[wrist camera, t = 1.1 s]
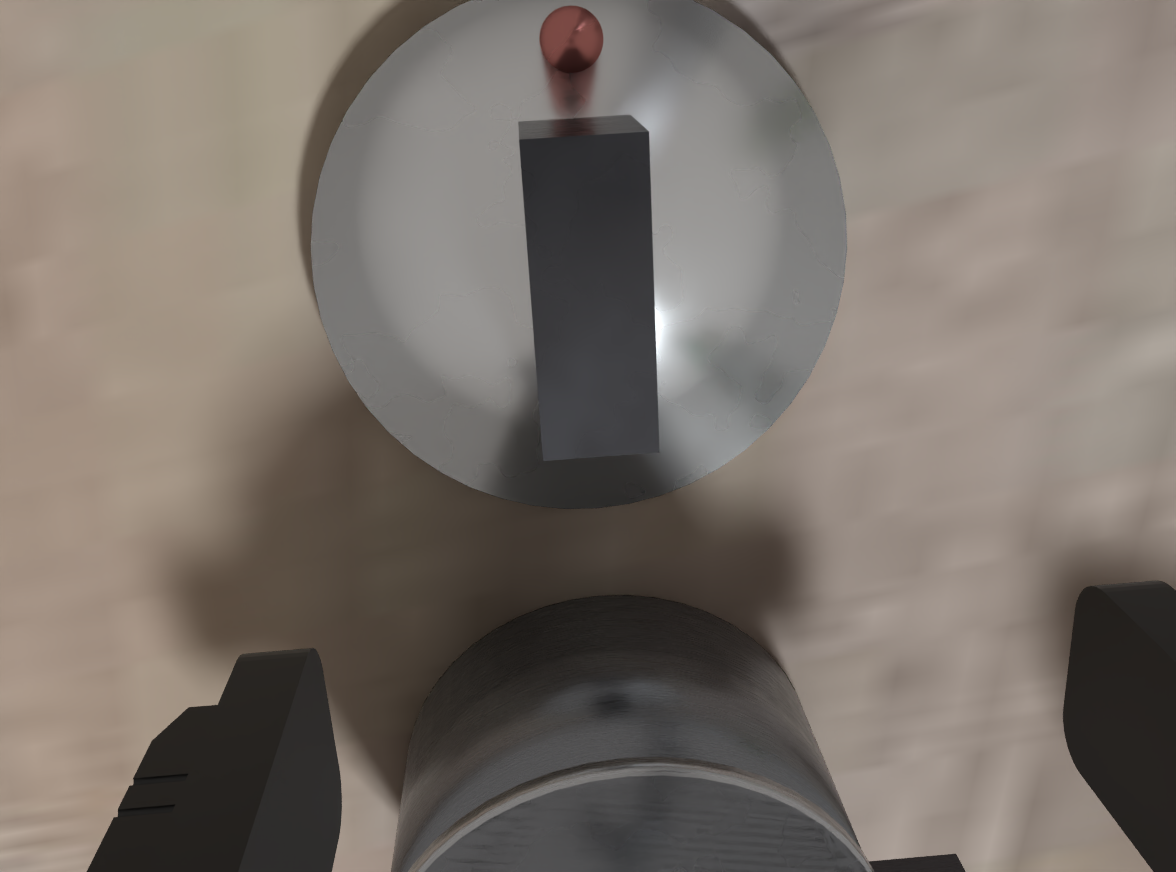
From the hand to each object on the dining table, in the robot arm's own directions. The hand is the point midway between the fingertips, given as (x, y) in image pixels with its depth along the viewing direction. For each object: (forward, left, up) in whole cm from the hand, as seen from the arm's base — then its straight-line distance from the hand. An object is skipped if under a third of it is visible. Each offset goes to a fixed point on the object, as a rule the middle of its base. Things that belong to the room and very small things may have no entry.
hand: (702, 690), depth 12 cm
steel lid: (0, 0, -22) cm, 22 cm away
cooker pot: (+18, 0, -21) cm, 28 cm away
